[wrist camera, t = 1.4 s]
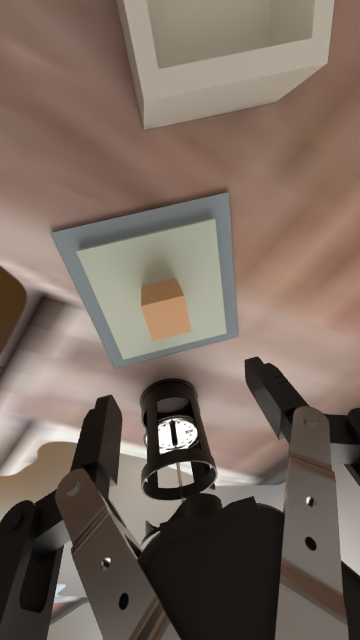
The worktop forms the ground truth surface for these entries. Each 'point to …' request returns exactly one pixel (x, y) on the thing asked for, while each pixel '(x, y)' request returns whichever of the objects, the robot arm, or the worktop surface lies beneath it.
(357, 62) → the worktop surface
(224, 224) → the mat
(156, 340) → the lid
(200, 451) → the french press
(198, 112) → the dish
